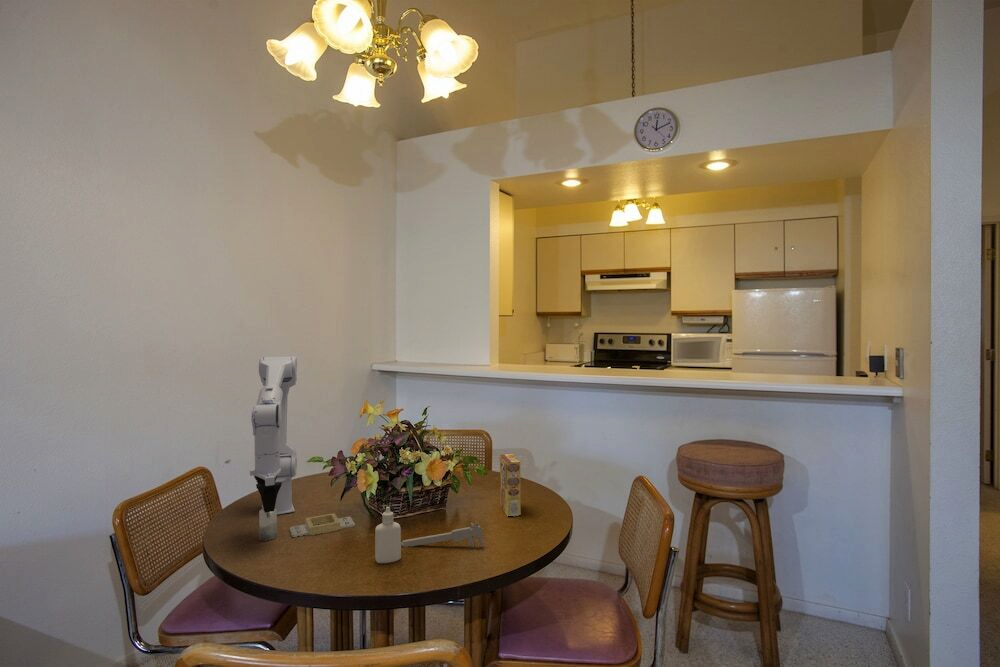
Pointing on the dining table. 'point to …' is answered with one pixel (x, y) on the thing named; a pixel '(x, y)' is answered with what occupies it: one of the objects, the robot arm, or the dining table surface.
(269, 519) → the translucent cylinder
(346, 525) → the cream tabbed socket tray
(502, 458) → the candy box
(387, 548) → the eye dropper bottle
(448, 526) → the dining table surface
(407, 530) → the dining table surface
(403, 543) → the caliper
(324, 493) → the dining table surface
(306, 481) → the dining table surface
